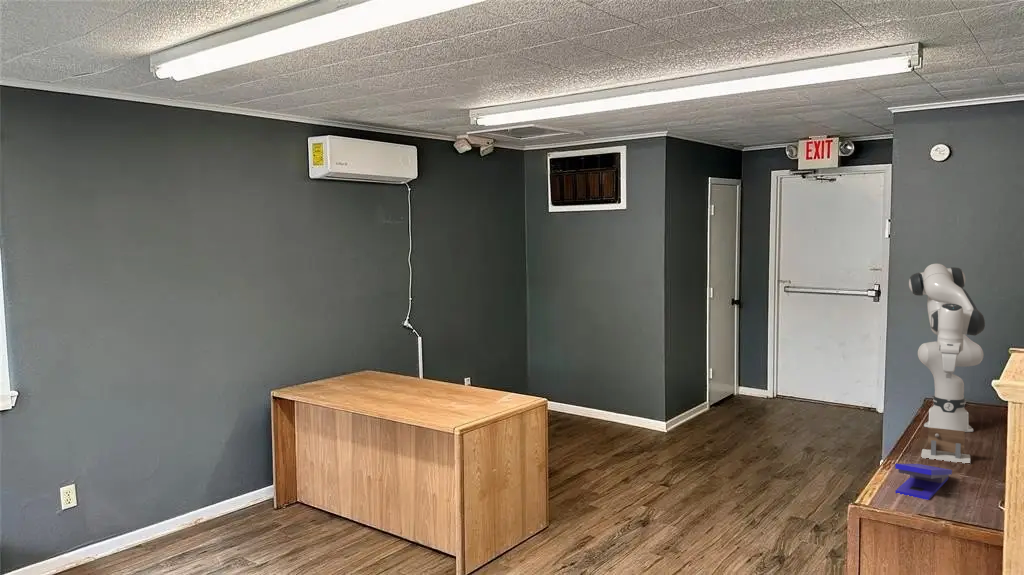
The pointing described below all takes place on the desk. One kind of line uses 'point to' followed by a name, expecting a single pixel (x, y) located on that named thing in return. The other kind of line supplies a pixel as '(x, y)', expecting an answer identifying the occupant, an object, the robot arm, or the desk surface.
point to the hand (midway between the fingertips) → (948, 379)
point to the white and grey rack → (945, 454)
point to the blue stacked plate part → (922, 480)
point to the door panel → (946, 439)
